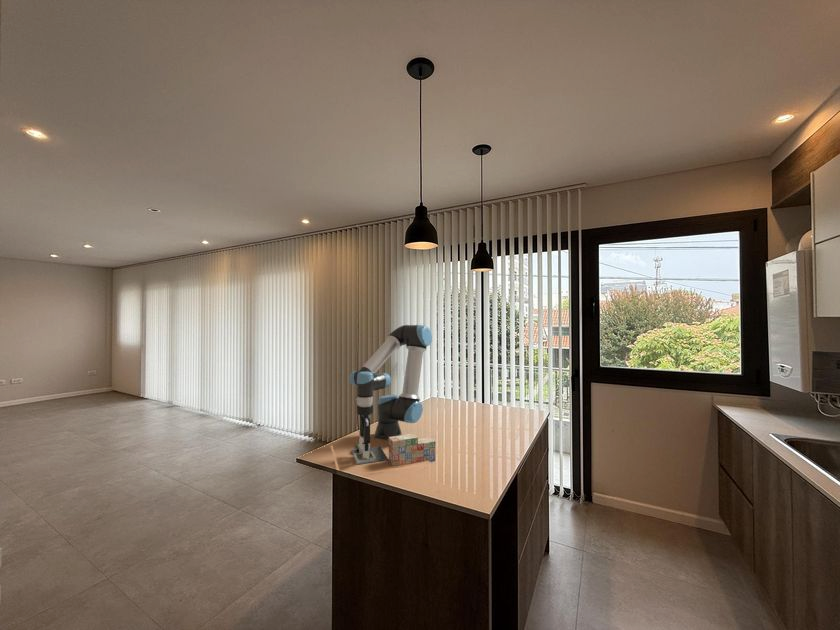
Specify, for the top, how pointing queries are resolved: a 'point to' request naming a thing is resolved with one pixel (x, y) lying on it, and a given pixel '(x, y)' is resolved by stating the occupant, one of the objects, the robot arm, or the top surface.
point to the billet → (361, 439)
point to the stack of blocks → (410, 449)
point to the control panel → (375, 456)
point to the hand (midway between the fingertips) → (364, 454)
